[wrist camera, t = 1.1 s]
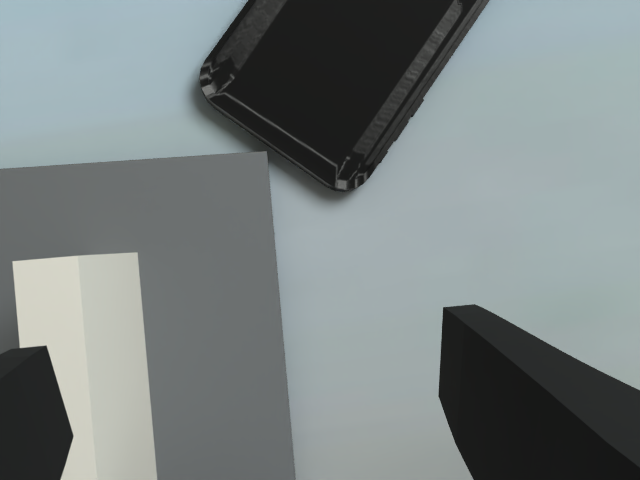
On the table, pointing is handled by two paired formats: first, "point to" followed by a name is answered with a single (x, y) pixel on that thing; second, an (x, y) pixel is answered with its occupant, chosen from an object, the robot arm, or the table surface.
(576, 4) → the table surface
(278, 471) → the desk mat
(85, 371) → the card box
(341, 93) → the phone
